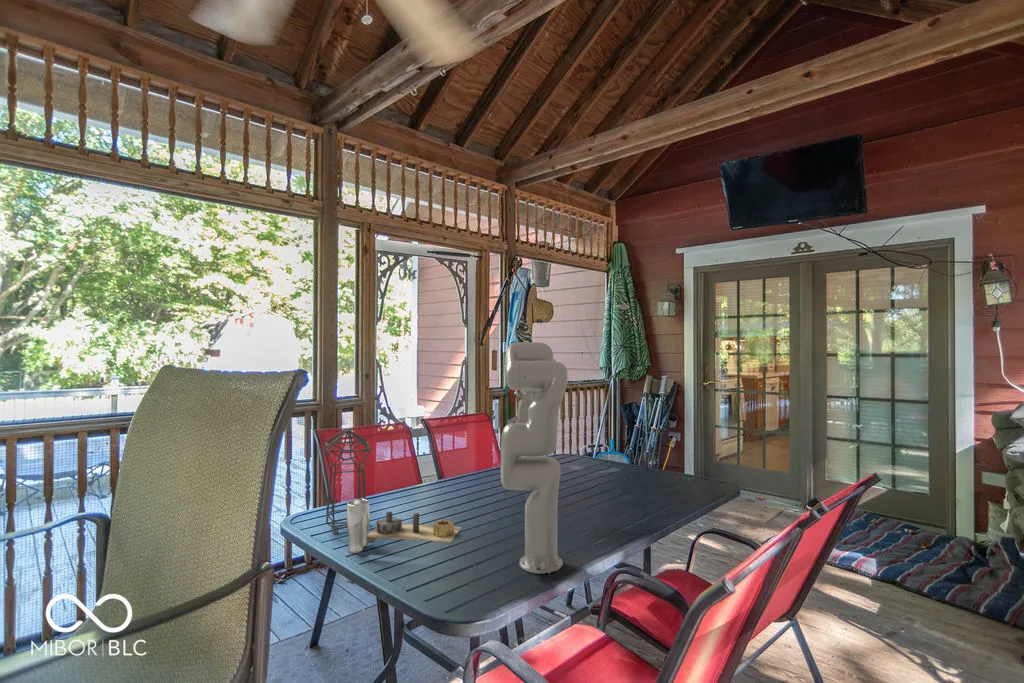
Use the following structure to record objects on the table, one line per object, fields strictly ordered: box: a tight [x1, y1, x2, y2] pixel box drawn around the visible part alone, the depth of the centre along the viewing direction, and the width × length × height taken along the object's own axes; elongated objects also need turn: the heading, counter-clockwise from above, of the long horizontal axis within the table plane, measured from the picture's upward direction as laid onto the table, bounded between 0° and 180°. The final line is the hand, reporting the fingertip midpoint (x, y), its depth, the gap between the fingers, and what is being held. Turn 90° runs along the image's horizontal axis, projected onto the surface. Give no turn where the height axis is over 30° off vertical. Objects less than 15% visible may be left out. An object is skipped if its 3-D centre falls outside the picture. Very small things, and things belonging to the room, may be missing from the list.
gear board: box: [367, 511, 462, 543], centre depth 174 cm, size 14×29×8 cm, turn 81°
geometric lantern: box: [322, 429, 373, 535], centre depth 180 cm, size 16×16×35 cm
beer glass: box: [346, 498, 371, 555], centre depth 162 cm, size 7×7×15 cm
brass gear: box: [432, 519, 455, 537], centre depth 172 cm, size 7×7×4 cm
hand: (530, 443), depth 190 cm, fingers open, 9 cm apart
